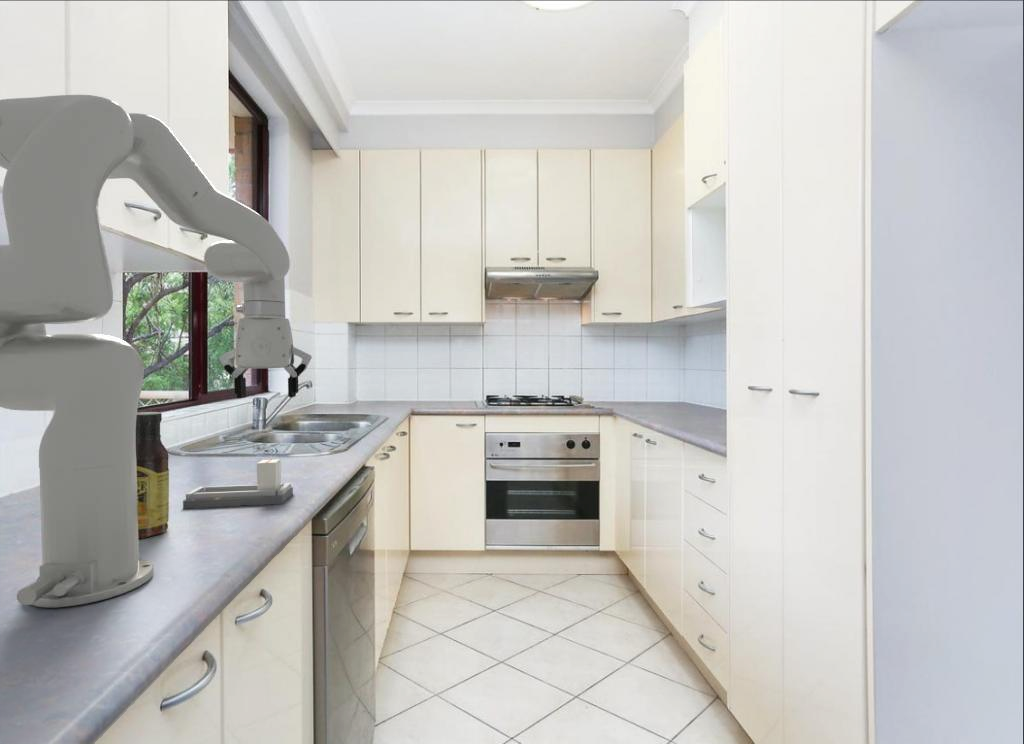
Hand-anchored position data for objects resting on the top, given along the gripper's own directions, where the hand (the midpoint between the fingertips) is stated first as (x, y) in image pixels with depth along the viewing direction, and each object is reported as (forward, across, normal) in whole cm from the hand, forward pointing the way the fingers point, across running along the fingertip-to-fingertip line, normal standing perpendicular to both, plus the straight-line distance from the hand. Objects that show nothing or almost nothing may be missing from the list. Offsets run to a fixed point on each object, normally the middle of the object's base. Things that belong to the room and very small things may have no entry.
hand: (267, 397), depth 108 cm
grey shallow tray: (+21, -6, 0) cm, 21 cm away
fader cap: (+19, 0, 0) cm, 19 cm away
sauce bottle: (+21, -14, -19) cm, 31 cm away
